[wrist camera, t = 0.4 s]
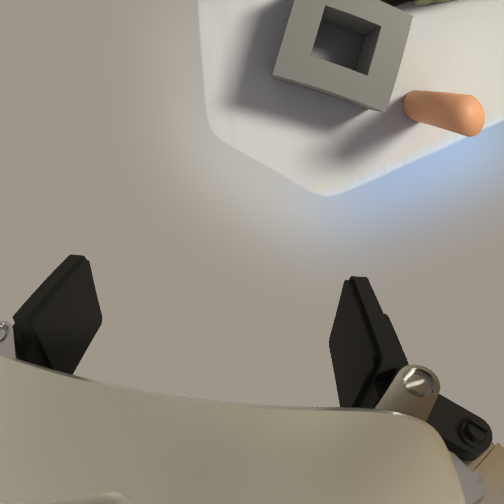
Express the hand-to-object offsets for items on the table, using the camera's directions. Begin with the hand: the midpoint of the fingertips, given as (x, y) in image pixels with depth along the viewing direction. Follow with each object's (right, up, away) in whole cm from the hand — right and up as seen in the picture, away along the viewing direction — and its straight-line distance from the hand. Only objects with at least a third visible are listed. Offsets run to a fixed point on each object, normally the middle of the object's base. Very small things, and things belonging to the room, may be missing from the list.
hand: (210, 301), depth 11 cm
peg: (+22, +20, +22) cm, 37 cm away
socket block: (+11, +25, +19) cm, 34 cm away
